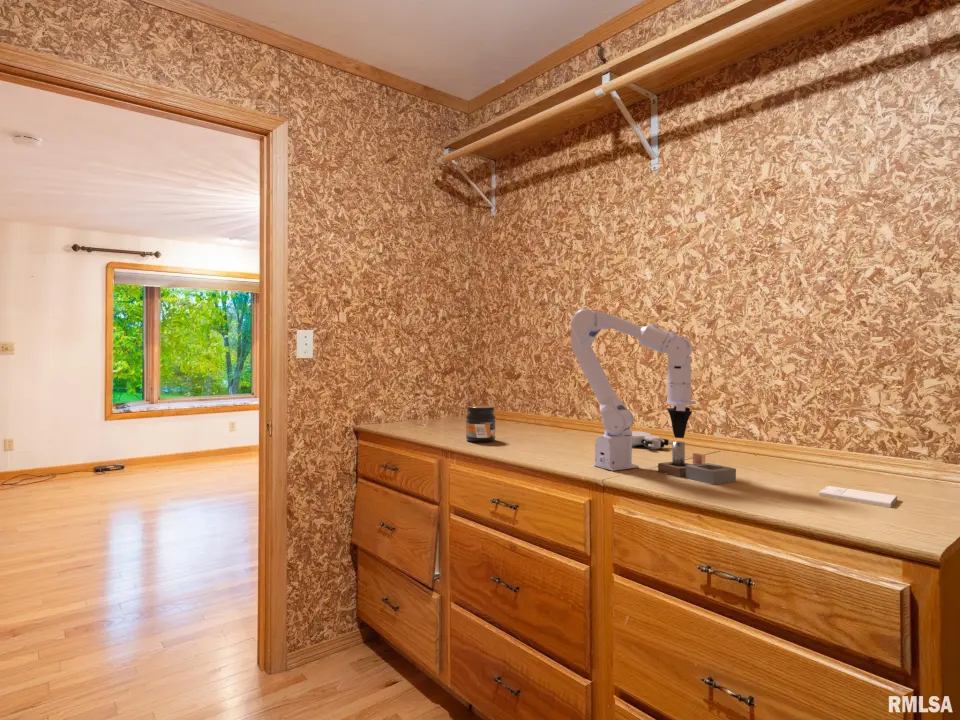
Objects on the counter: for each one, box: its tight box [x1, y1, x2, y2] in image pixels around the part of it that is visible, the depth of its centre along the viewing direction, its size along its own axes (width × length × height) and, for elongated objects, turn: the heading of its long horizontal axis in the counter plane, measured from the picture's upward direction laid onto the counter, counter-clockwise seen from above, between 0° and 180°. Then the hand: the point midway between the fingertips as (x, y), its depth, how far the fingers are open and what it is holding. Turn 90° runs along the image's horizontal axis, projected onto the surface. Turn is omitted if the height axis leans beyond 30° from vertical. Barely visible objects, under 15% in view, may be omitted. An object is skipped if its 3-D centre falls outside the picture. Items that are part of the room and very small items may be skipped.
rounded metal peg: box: [671, 440, 686, 467], centre depth 136 cm, size 3×3×8 cm
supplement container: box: [465, 405, 497, 444], centre depth 187 cm, size 10×10×12 cm
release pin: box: [692, 452, 706, 465], centre depth 139 cm, size 6×3×4 cm, turn 118°
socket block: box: [657, 461, 693, 478], centre depth 137 cm, size 7×7×2 cm
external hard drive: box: [818, 485, 898, 509], centre depth 113 cm, size 2×8×12 cm
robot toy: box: [630, 430, 673, 450], centre depth 176 cm, size 12×4×15 cm
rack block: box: [685, 462, 737, 486], centre depth 130 cm, size 8×8×3 cm
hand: (678, 436), depth 136 cm, fingers open, 3 cm apart
